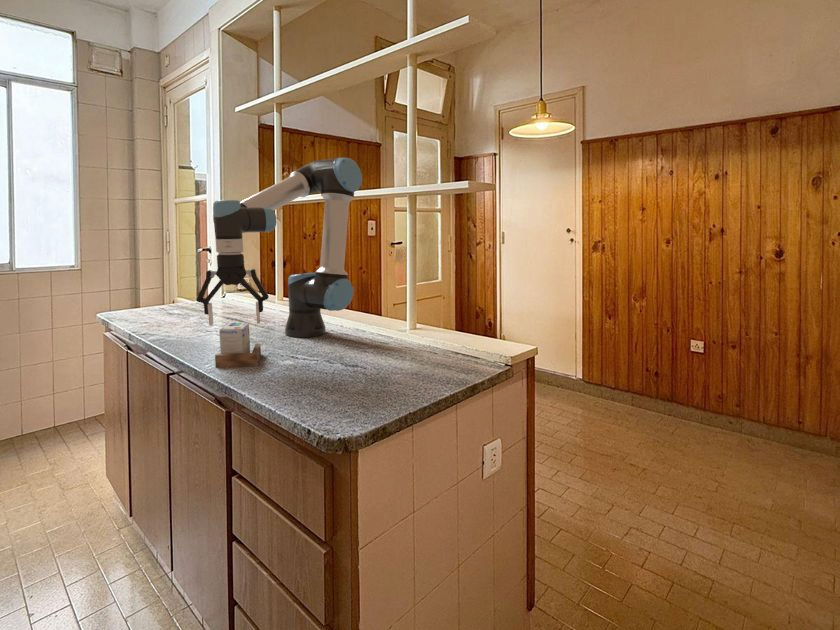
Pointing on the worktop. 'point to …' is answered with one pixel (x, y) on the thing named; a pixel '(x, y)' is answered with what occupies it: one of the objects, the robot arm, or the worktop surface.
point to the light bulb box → (235, 338)
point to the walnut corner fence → (239, 358)
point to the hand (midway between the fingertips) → (235, 324)
